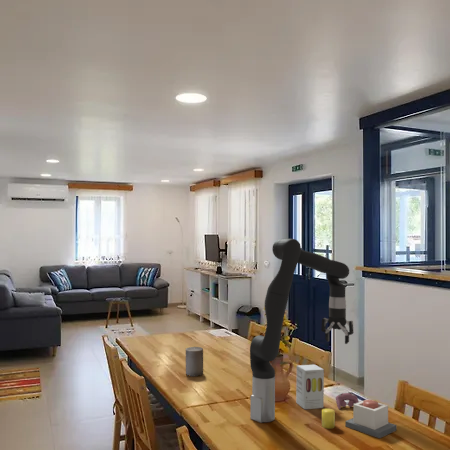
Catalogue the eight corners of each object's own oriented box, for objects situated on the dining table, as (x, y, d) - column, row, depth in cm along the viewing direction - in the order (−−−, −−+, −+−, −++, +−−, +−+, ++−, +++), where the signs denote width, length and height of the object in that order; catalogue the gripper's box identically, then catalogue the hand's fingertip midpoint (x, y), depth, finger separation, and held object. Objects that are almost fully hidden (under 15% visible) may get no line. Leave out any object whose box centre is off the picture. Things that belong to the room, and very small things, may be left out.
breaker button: (373, 416, 183) (373, 405, 183) (360, 412, 187) (360, 402, 188) (381, 413, 187) (381, 402, 187) (368, 409, 191) (368, 399, 191)
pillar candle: (204, 371, 265) (204, 344, 266) (201, 376, 255) (201, 348, 256) (187, 371, 266) (187, 344, 267) (183, 376, 256) (183, 348, 257)
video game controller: (358, 410, 211) (355, 393, 215) (361, 408, 207) (358, 391, 211) (335, 410, 211) (334, 393, 214) (338, 408, 207) (336, 392, 210)
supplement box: (304, 409, 207) (304, 370, 207) (295, 402, 216) (295, 365, 216) (324, 407, 209) (324, 369, 210) (315, 401, 218) (315, 363, 219)
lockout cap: (329, 429, 185) (329, 414, 186) (319, 425, 189) (319, 410, 189) (337, 426, 189) (337, 411, 189) (327, 422, 192) (327, 407, 193)
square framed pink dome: (379, 438, 177) (379, 413, 178) (345, 426, 189) (345, 403, 189) (396, 430, 185) (396, 406, 185) (362, 419, 197) (362, 396, 197)
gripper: (319, 306, 219) (319, 342, 219) (350, 309, 212) (350, 345, 212) (324, 304, 226) (324, 339, 225) (355, 307, 219) (354, 343, 218)
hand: (337, 342), depth 218 cm, fingers open, 8 cm apart
